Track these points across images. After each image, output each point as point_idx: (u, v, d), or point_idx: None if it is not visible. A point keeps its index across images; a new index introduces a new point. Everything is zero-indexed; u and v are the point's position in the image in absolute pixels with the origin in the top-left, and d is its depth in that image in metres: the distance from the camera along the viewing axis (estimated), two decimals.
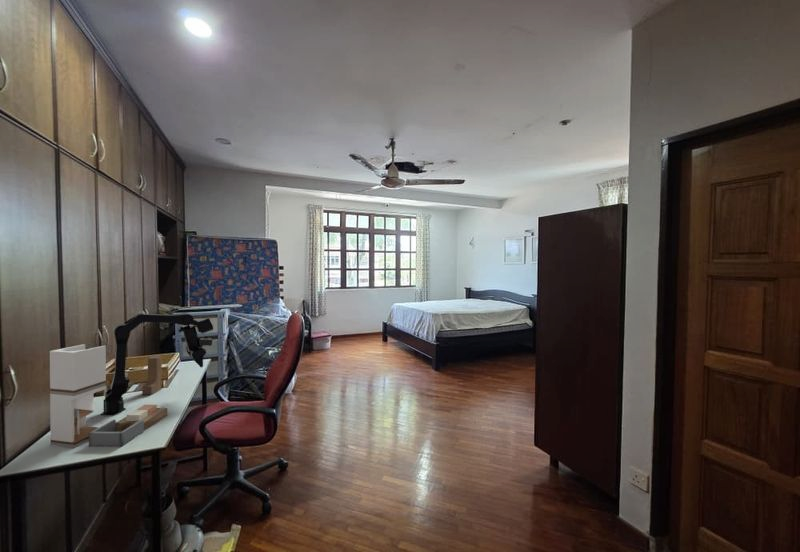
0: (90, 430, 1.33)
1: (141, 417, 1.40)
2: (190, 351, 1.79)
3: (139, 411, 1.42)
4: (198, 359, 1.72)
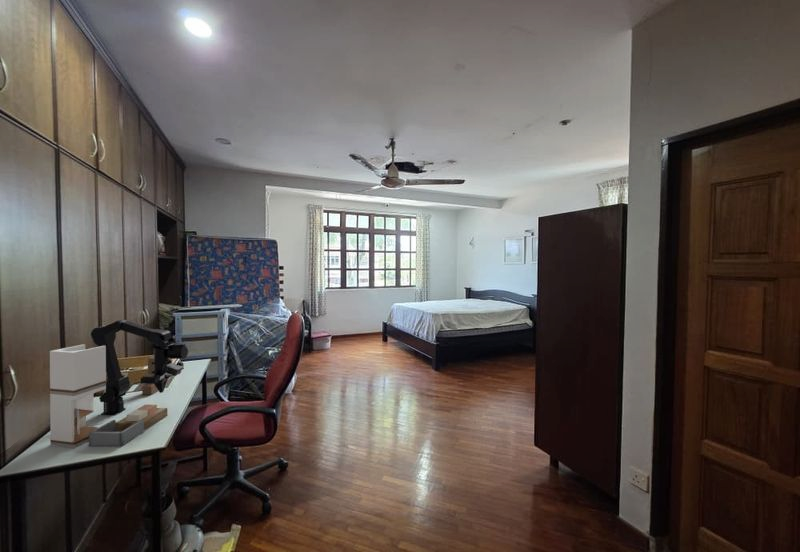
0: (90, 430, 1.33)
1: (141, 417, 1.40)
2: None
3: (139, 411, 1.42)
4: (158, 383, 1.55)
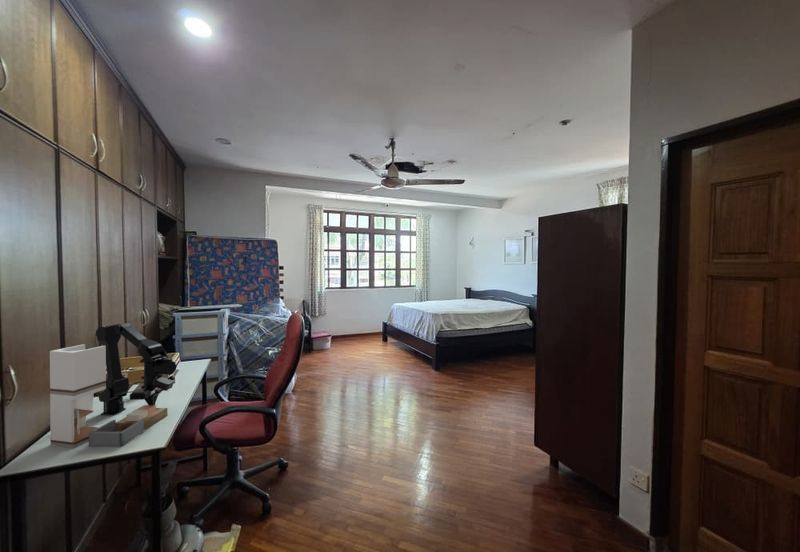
0: (90, 430, 1.33)
1: (141, 417, 1.40)
2: None
3: (139, 411, 1.42)
4: (148, 398, 1.48)
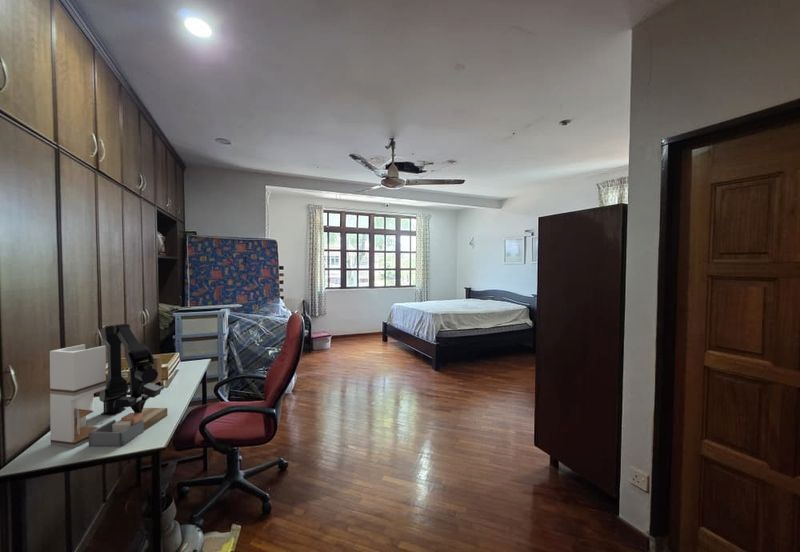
0: (90, 430, 1.33)
1: None
2: None
3: (119, 428, 1.32)
4: (134, 405, 1.40)
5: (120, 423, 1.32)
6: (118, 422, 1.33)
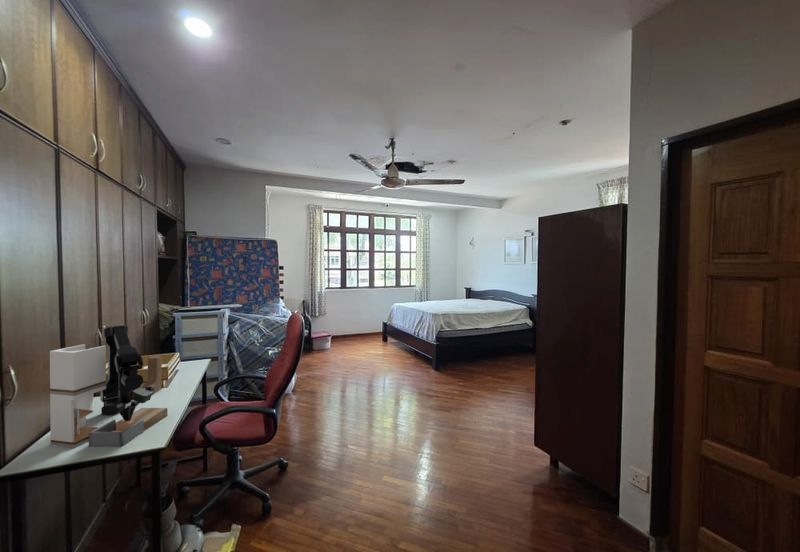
0: (90, 430, 1.33)
1: None
2: None
3: None
4: (123, 411, 1.35)
5: None
6: None
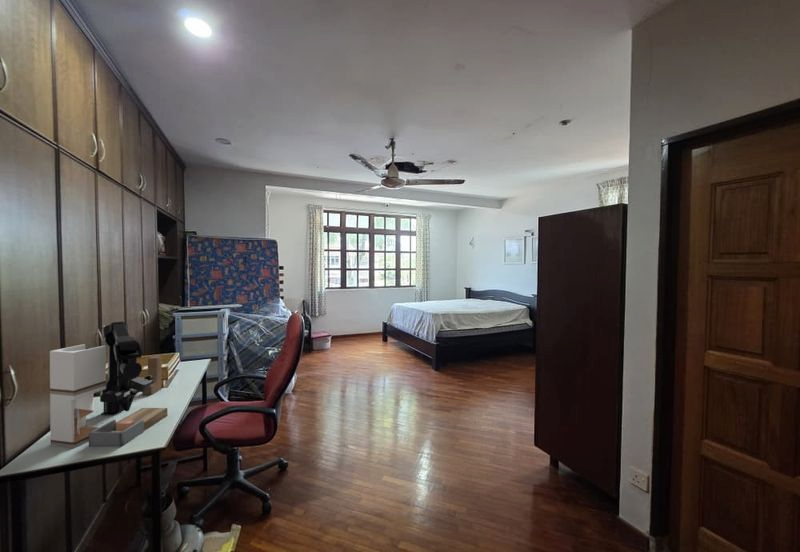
0: (90, 430, 1.33)
1: None
2: None
3: None
4: (122, 400, 1.34)
5: None
6: None
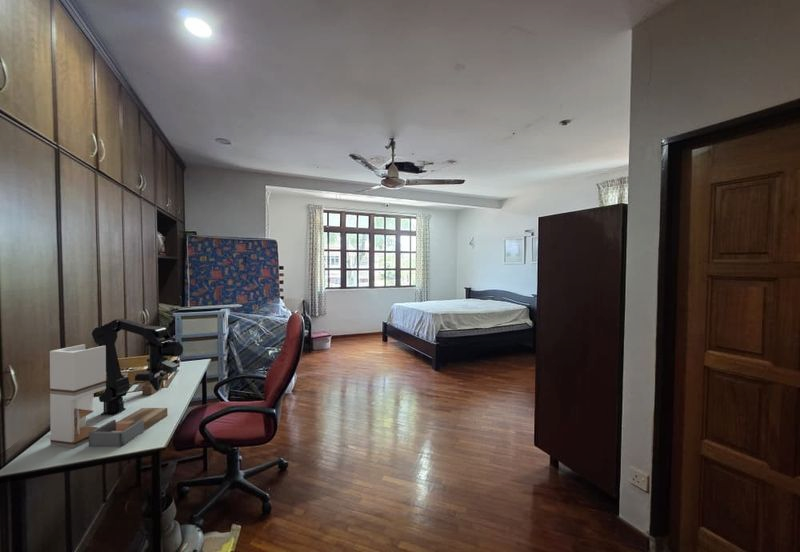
0: (90, 430, 1.33)
1: None
2: None
3: None
4: (153, 380, 1.51)
5: None
6: None
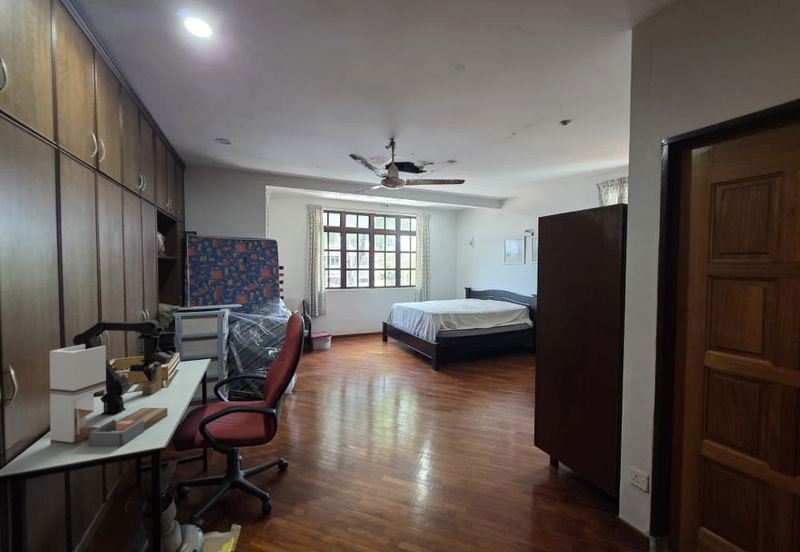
0: (90, 430, 1.33)
1: None
2: None
3: None
4: (147, 371, 1.57)
5: None
6: None
